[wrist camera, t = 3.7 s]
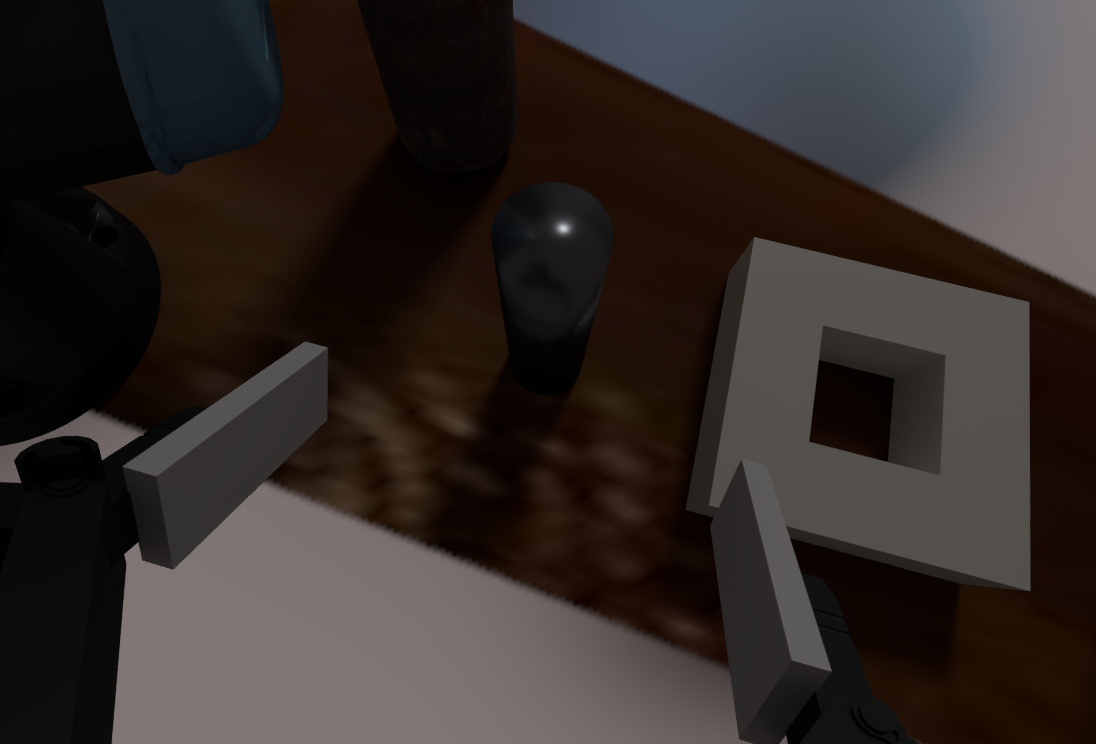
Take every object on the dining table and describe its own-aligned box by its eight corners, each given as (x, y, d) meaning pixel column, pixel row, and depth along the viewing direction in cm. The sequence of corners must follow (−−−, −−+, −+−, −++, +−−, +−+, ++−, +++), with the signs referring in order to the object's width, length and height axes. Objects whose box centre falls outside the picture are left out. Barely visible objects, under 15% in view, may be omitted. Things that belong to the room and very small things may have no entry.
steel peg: (501, 384, 30) (475, 272, 17) (521, 319, 31) (510, 170, 18) (572, 402, 29) (597, 303, 17) (589, 336, 31) (624, 197, 18)
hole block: (685, 510, 28) (708, 505, 24) (728, 273, 32) (754, 237, 28) (960, 583, 27) (1030, 591, 23) (968, 331, 31) (1028, 302, 27)
